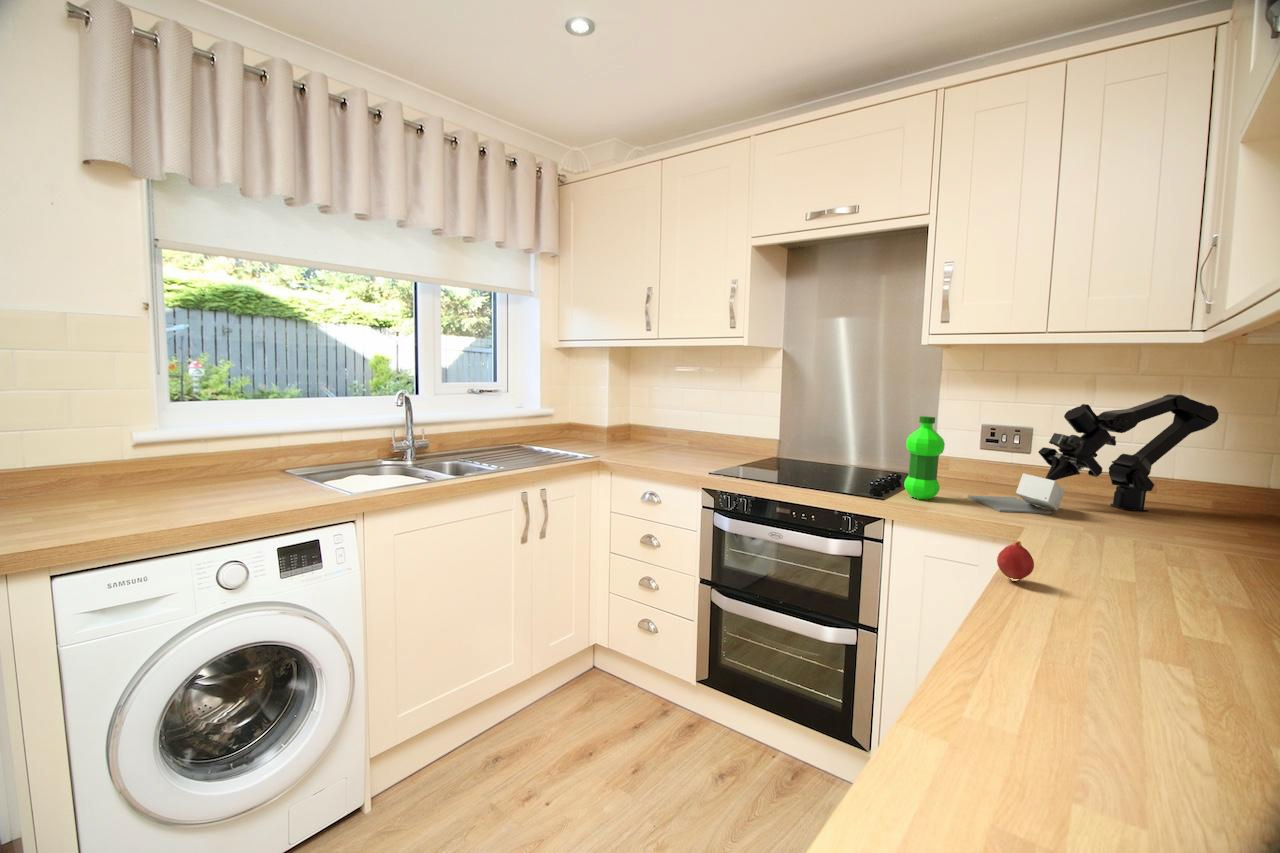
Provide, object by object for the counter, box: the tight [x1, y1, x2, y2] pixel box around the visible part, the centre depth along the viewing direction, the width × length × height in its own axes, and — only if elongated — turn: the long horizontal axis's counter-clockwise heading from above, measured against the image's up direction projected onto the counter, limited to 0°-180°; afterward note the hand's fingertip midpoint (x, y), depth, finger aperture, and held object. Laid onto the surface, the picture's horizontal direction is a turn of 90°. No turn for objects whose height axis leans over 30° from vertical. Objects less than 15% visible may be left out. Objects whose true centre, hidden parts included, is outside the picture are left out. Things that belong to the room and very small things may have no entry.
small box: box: [1015, 472, 1065, 512], centre depth 166 cm, size 8×6×13 cm
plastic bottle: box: [903, 415, 945, 500], centre depth 178 cm, size 10×10×25 cm
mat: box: [967, 494, 1052, 515], centre depth 173 cm, size 14×18×1 cm
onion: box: [996, 540, 1035, 580], centre depth 110 cm, size 6×6×8 cm
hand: (1046, 480), depth 171 cm, fingers closed
